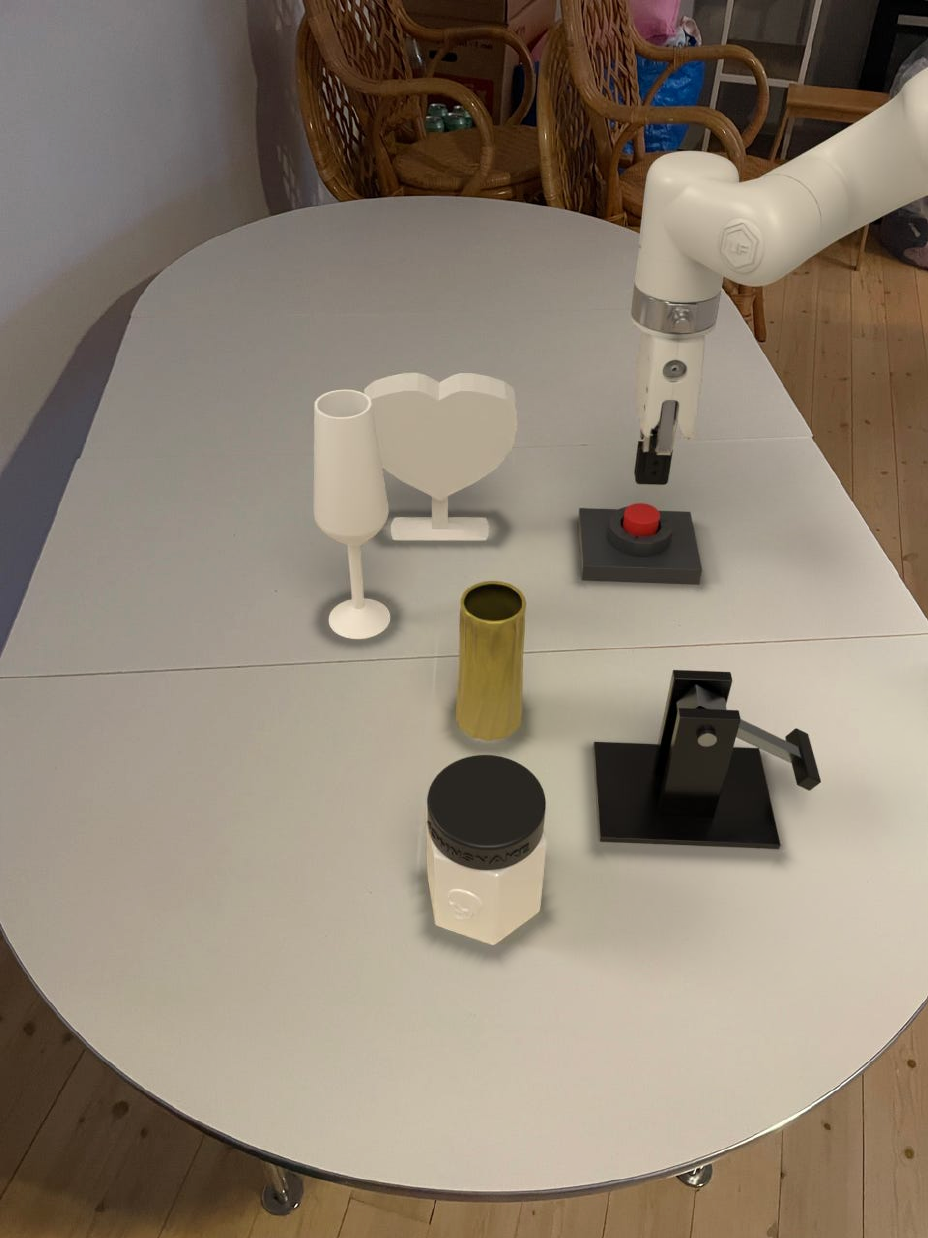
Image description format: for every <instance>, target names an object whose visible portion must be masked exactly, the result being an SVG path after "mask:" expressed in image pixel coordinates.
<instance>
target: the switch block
mask: <svg viewBox="0 0 928 1238" xmlns="http://www.w3.org/2000/svg"><path fill="white" fill-rule="evenodd" d="M628 506H629V505H627V506H624V507H621V508H594V507H593V508H592V507H579V508H578V517H577V529H578V531H577V532H578V544H579V545H578V549H579V562H580V575H581V582H583V581H584V582H586V581H587V582H611V583H638V584H663V585H664V584H667V585H694V586H697V585H698V586H699V585H700V582H701V578H702V577H701V576H702V572H703V567H702V562H701V558H700V553H699V548H698V543H697V537H696V532H695V528H694V523H693V518H692V513H691V511H682V510H681V511H680V510H659V509H657V510H658V511H659V513H660V519H659V525H658V530H657V532H656V533H655V534H653V535H650V536H636V535H633V534H631V533H628V532H626V531H625V529H624V527H623V520H624V513H625V509H626V508H627V507H628Z"/></svg>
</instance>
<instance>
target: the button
mask: <svg viewBox="0 0 928 1238" xmlns="http://www.w3.org/2000/svg"><path fill="white" fill-rule="evenodd" d="M627 506H628V507H627ZM627 506H626V507H627V508H626V509H625V513H624V520H623V527H624V529H625V531H626V532H628V533H631V534H633V535H636V536H650V535H653V534H655V533H656V532H657V530H658V525H659V519H660V513H659V511H660V510H659V509H657V508H656V507H655V506H654V505H651V504H648V503H643V502H642V503H641V502H638V503H637V502H636V503H632V504H630V505H627ZM658 510H659V511H658Z"/></svg>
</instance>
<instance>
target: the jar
mask: <svg viewBox="0 0 928 1238" xmlns="http://www.w3.org/2000/svg"><path fill="white" fill-rule="evenodd" d="M546 809H547V800H546V795H545V791H544V788H543V785H542V784H541V783H540V781H539V779H538V778H537V776H536V775H535V774H534V773H533V772H531V771H530V769H528V768H527V767H525V766H524V765H522V764H521V763H519V762H517V761H516V760H513V759H510V758H508V757H504V756H500V755H495V754H477V755H470V756H466V757H463V758H460V759H458V760H455V761H454V762H452V763H450V764H448V765H447V766H446V767H444V768H442V770H440V772H438V773H437V775H436V776H435V777H434V779H433V780H432V782H431V784H430V786H429V788H428V792H427V799H426V804H425V826H426V827H425V828H426V829H425V831H426V868H427V869H426V870H427V881H428V887H429V893H430V900H431V906H432V913H433V920H434V924H435V925H436V927H440V928H442V929H445V930H448V931H451V932H453V933H457V934H460V935H463V936H465V937H467V938H471V939H474V940H477V941H480V942H483V943H486V944H488V945H491V946H494V945H497V944H498V943H500V941H502V940H503V939H505V938H506V937H508V936H509V935H510V934H511V933H513V932H514V931H515V930H517V929H518V928H520V927H522V925H524V924H525V923H527V921H530V919H532V918H533V917H534V916H536V915H537V914H539V913H540V912H541V907H542V906H541V905H542V898H543V897H542V895H543V886H544V876H545V866H546V858H547V857H546V856H547V847H548V840H547V836H546V833H545V832H546V831H545V828H544V827H545V819H546V818H545V817H546Z"/></svg>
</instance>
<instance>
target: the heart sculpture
mask: <svg viewBox="0 0 928 1238" xmlns="http://www.w3.org/2000/svg"><path fill="white" fill-rule="evenodd" d="M363 393H364V394H365V395H367V396H368V397H369V398H370V399H371V402H372V408H373V415H374V421H375V427H376V433H377V440H378V446H379V452H380V458H381V465H382V470H385V471H386V472H388V473H389V474H391V475H392V476H393V477H395V478H396V479H398V480H400V481H401V483H404V484H407V485H408V486H410V487H412V488H414V489H416V490H418V491H421V492H422V493H425V495H429V496H430V497H431V516H426V517H425V516H395V517H394V518H393V519H392V522H391V524H390V528H389V529H390V534H391V538H392V540H393V541H487V539H488V537H489V535H490V524H489V522H488V519H487V518H486V517H483V516H482V517H477V516H475V517H473V516H472V517H471V516H469V517H466V516H465V517H464V516H460V517H459V516H457V517H456V516H455V517H453V516H449V511H448V510H449V496H452V495H453V494H455V493H458V492H459V491H461V490H463V489H465V488H467V487H469V486H471V485H473V484H475V483H477V482H478V481H480V480H481V479H483V478H485V477H486V476H487V475H489V474H490V473H492V472H494V471H495V470H496V469H497V468H499V466H500V465H501V464H502V463H503V461H504V460H505V459H506V457H507V456H508V455H509V453H510V452H511V451H512V450H513V448H514V444H515V440H516V437H517V431H518V427H519V420H518V408H517V401H516V393H515V389H514V388H513V387H512V386H511V385H510V384H509V383H507V382H505V380H502V379H498V378H495V377H492V376H489V375H485V374H484V375H483V374H478V373H474V372H472V373H471V372H459V373H456V374H452V375H450V376H448V377H447V378H445V379H442V380H441V381H438V380H435V379H434V378H432V377H431V376H429V375H426V374H424V373H421V372H403V373H398V374H393V375H388V376H385V377H382V378H378V379H376V380H373V381H372V382H371V383H370V384H368V385H367V386H366V387H365V388H364V391H363Z"/></svg>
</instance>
